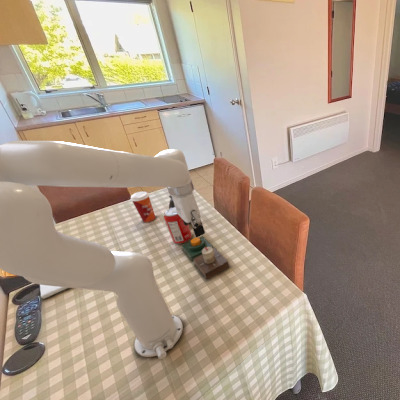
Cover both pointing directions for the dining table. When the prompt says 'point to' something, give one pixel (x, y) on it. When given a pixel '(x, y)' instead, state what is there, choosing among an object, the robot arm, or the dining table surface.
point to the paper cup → (143, 206)
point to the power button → (195, 241)
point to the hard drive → (50, 290)
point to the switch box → (196, 248)
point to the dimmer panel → (211, 265)
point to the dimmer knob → (208, 255)
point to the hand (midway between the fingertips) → (194, 229)
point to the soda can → (177, 227)
